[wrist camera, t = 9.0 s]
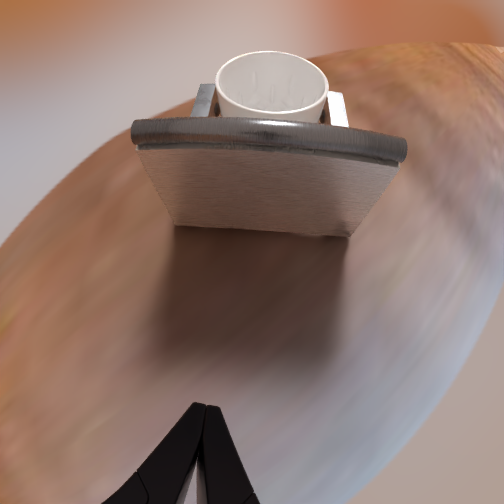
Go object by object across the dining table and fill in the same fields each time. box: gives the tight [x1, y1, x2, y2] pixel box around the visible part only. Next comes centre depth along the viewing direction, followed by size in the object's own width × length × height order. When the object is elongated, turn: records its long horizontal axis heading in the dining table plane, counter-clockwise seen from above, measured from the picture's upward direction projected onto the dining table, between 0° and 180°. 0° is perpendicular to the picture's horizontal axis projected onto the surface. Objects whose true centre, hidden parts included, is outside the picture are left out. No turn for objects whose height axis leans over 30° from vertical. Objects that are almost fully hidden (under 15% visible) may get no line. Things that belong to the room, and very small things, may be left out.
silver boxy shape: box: [131, 84, 407, 237], centre depth 21 cm, size 15×15×12 cm
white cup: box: [215, 51, 329, 123], centre depth 22 cm, size 8×8×10 cm
